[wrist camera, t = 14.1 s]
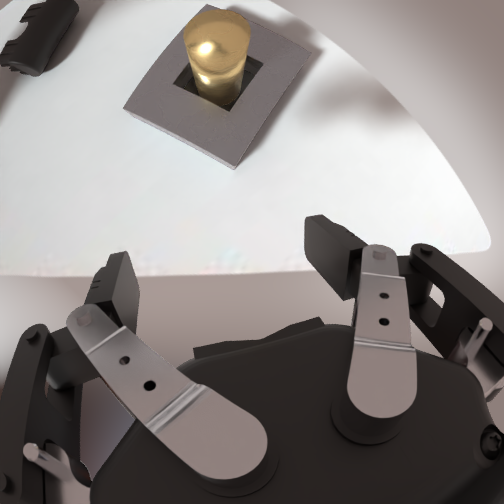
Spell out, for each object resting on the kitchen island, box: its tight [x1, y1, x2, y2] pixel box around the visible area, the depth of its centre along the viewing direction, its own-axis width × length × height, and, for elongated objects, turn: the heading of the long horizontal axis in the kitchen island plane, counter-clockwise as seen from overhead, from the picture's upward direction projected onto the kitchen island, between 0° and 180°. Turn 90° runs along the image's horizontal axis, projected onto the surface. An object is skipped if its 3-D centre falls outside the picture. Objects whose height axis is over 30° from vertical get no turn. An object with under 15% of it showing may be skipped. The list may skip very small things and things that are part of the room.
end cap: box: [0, 0, 79, 77], centre depth 16 cm, size 10×7×7 cm
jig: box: [123, 4, 311, 170], centre depth 22 cm, size 12×14×4 cm
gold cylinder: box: [183, 9, 251, 106], centre depth 19 cm, size 4×4×11 cm
